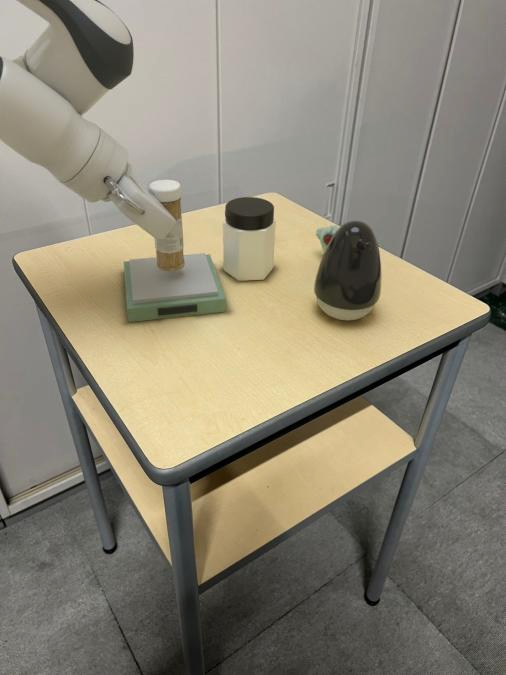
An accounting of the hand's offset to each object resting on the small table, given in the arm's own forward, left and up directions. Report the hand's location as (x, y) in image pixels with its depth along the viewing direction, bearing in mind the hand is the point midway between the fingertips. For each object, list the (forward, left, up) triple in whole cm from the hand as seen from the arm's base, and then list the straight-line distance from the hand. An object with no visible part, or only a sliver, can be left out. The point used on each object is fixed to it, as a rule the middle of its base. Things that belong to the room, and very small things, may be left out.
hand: (171, 223), depth 79 cm
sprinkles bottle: (-1, 0, -7) cm, 7 cm away
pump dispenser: (+25, -11, -12) cm, 30 cm away
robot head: (+29, +6, -12) cm, 32 cm away
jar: (+13, +5, -12) cm, 19 cm away
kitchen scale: (-1, 0, -12) cm, 12 cm away
